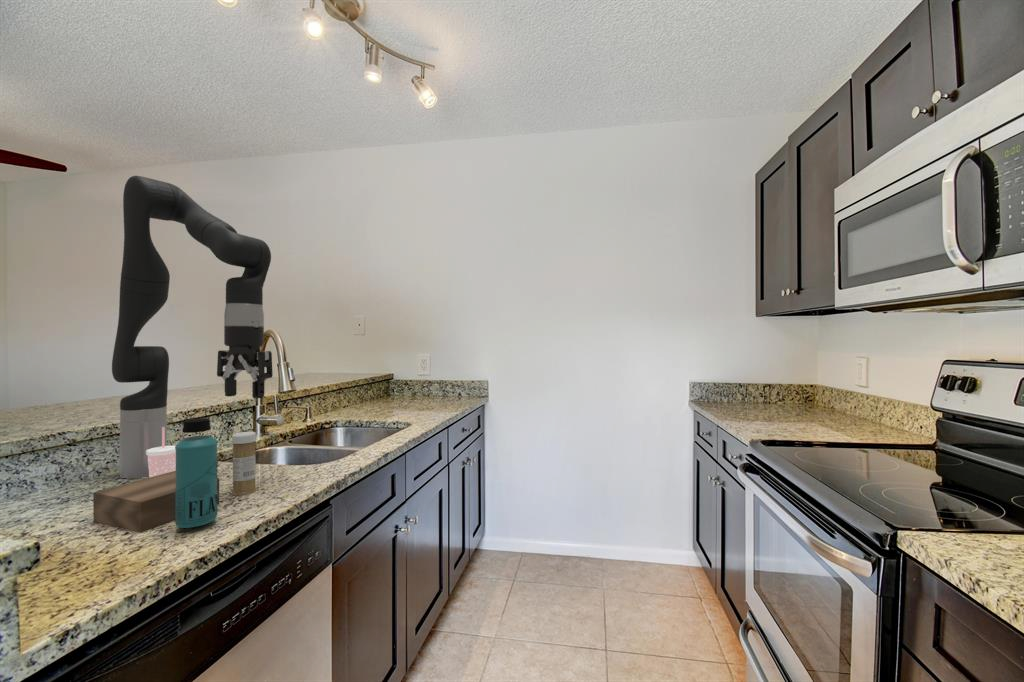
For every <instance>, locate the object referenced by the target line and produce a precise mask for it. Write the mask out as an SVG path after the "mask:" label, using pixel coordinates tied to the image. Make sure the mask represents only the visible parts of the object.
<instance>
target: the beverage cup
mask: <svg viewBox="0 0 1024 682" xmlns="http://www.w3.org/2000/svg"><path fill="white" fill-rule="evenodd" d="M175 446H176V445H167V446H165V427H162V446H161V447H155V448H151V449H148V450H146V455H148V467H149V477H148V478H150V477H154V476H157V475H161V474H165V473H169V472H173V471H176V449H175Z"/></svg>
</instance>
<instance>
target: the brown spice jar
mask: <svg viewBox="0 0 1024 682" xmlns="http://www.w3.org/2000/svg"><path fill="white" fill-rule="evenodd" d="M256 433H257V432H255V431H242V432H236V433H234V434H232V435H231V443H232V495H233V496H245V495H249V494H252V493H254V492H256V491H257V488H256V476H257V475H256V473H257V472H256V470H257V467H256V464H257V463H256V442H257V434H256Z"/></svg>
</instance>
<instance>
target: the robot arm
mask: <svg viewBox="0 0 1024 682" xmlns="http://www.w3.org/2000/svg"><path fill="white" fill-rule="evenodd" d="M122 203H123V204H122V205H123V206H122V207H123V211H122V212H123V254H122V262H121V263H122V265H121V272H120V282H119V283H120V284H119V307H118V320H117V321H118V322H117V330H116V333H115V334H116V336H115V339H114V340H115V342H114V345H113V346H114V347H113V351H112V353H113V354H112V358H111V373H112V378H113V379H114V381H116V383H117V382H118V383H121V384H122V383H123V384H124V383H142V382H145V383H146V382H148V385H147V386H146V387H145V388H144V389H141V390H139V391H138V392H134V393H132V394H130V395H127V396H124V397H122V398H121V399H120V402H119V439H118V444H119V445H118V450H119V451H118V456H119V457H118V474H119V477H120V479H123V478H126V480H132V478H135V479H143V478H149V477H148V476H149V467H148V455H146V450H148V449H151V448H155V447H161V446H162V427H165V446H168V437H167V436H168V430H167V429H168V427H167V426H168V418H167V417H168V416H167V415H168V412H167V410H168V408H167V407H168V401H167V400H168V384H169V372H170V371H169V369H170V357H169V352H168V350H167V349H166V348H165V347H163V346H156V345H155V346H153V345H150V346H149V345H143V346H142V345H140V346H139V345H138V346H137V345H135V343H136V341H137V337H138V336H139V334H140V333H141V331H142V329H143V327H144V326H146V324H147V323H148V322H149V321H150V320H151V319H152V318H153V317H154V316H155V315H156V314H157V313H158V312H159V311H160V310H161V309H162V308H163V307H164V306H165V304H166V302H167V301H168V298H169V288H170V277H171V276H170V271H169V269H168V267H167V265H166V262H165V261H164V260H163V258H162V256H161V254H160V253H159V252H158V250H157V248H156V246H155V245H154V242H153V240H152V237H151V226H150V223H151V222H150V221H151V219H155V220H161V221H169V222H170V221H172V222H176V223H179V224H183V225H185V226H184V227H185V229H186V232H187V233H188V234H189V235H190V236H191V238H192V239H193V240H196V242H198V243H200V244H201V245H203V246H205V247H206V248H208V249H209V250H210V251H211V252H212V254H213V255H214V256H215V257H216V259H218V260H220V262H223V263H225V264H227V265H231V266H235V267H239V268H244V271H242V275H241V276H236V277H235V276H234V277H230V278H228V279H227V280H226V283H225V307H224V313H223V315H224V321H223V322H224V324H223V327H224V328H223V329H224V330H223V331H224V332H223V334H224V336H223V337H224V338H223V339H224V341H223V342H224V345H225V346H226V347H228V349H227V350H223V349H222V350H221V349H220V350H218V351H217V366H216V367H217V368H216V375H217V377H218V378H219V377H221V378H222V380H223V381H224V396H225V397H235V396H237V392H238V391H237V389H238V388H237V381H238V379H236V378H237V377H238V375H239V373H241V372H242V371H245V372H246V373H247V374H249V375H250V377H251V379H252V383H251V384H252V385H251V386H252V388H251V389H252V390H251V392H252V395H251V396H252V398H253V399H255V400H256V399H263V398H264V395H265V381H266V380H267V379H271V378H273V373H274V372H273V353H272V351H271V350H261V348H260V347H261V346H264V344H265V339H264V338H265V336H264V335H265V316H264V315H265V313H264V309H263V308H264V306H263V305H264V303H263V299H264V298H263V296H264V295H263V288H264V285H265V282H266V277H267V275H268V271H269V268H270V265H271V261H272V254H271V250H270V247H269V245H268V244H267V242H265V241H264V240H262V239H259V238H256V237H252V236H248V235H245V234H241V233H238V231H237V230H236V229H235V228H234V227H233V226H232V225H230V224H229V223H227V222H225V221H224V220H222V219H220V218H219V217H217V216H215V215H213V214H211V213H210V212H208V211H207V210H206V209H205V208H203V207H202V206H201V205H200V204H198V203H197V202H196V201H195V200H194V199H193V198H192V197H191V196H189V195H188V194H187V192H185V191H184V190H183V189H181V188H180V187H178V186H177V185H175V184H173V183H170V182H166V181H163V180H158V179H153V178H150V177H145V176H140V175H133V176H130V177H129V178H128V179H127V180H126V181H125V184H124V189H123V197H122ZM224 367H225V368H224ZM265 368H266V372H265ZM142 477H143V478H142Z"/></svg>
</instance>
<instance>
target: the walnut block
mask: <svg viewBox="0 0 1024 682" xmlns="http://www.w3.org/2000/svg"><path fill="white" fill-rule="evenodd" d="M217 485H218V487H217V499H218V504H217V506H219V505H220V478H219V477H217ZM175 493H176V471H173V472H169V473H165V474H161V475H157V476H154V477H150V478H149V477H145V478H141V479H139V480H135V481H132V482H128V483H123V484H121V485H117V486H112V487H108V488H104V489H102V490H97V491H95V492H93V495H92V497H93V504H92V505H93V510H92V511H93V513H92V514H93V515H92V516H93V519H92V520H93V523H94V524H99V525H103V526H108V527H112V528H116V527H118V528H117V529H121V528H122V529H121V530H125V529H126V530H127V531H131V532H136V533H140V534H141V533H144V532H147V531H149V530H152V529H156V528H157V527H161V526H163V525H166V524H169V523H171V522H175Z"/></svg>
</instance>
